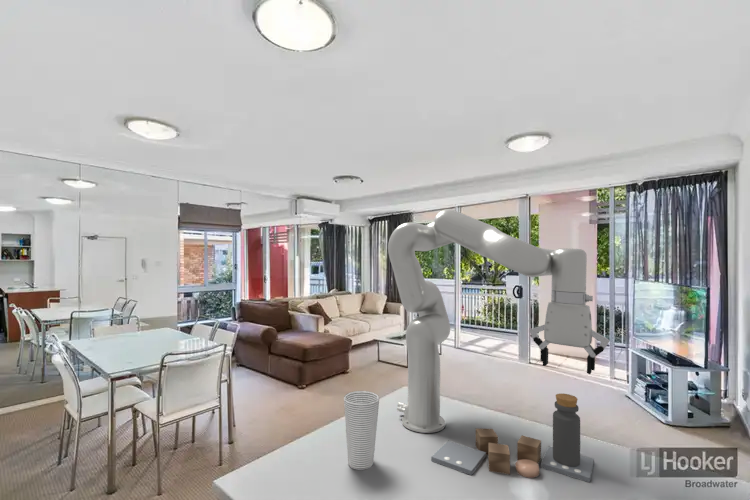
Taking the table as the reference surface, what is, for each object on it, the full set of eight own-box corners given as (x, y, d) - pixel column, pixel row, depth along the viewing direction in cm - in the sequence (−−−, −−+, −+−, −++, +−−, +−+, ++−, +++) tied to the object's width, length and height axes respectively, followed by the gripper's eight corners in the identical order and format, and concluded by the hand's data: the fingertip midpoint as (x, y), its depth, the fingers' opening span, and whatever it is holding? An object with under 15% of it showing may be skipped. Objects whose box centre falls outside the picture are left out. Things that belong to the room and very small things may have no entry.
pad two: (431, 460, 88) (431, 456, 88) (448, 444, 97) (448, 440, 97) (471, 475, 83) (471, 470, 83) (486, 456, 91) (486, 451, 91)
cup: (361, 450, 93) (362, 388, 93) (386, 463, 87) (386, 397, 87) (335, 462, 87) (336, 396, 87) (359, 478, 81) (360, 406, 81)
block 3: (517, 461, 89) (517, 442, 89) (521, 453, 93) (521, 435, 93) (537, 467, 87) (537, 447, 87) (541, 459, 90) (541, 440, 90)
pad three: (540, 467, 86) (540, 462, 86) (548, 449, 94) (548, 445, 95) (589, 482, 81) (589, 477, 81) (593, 462, 89) (593, 458, 89)
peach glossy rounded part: (525, 464, 88) (524, 457, 88) (544, 472, 83) (543, 465, 83) (511, 471, 85) (510, 463, 85) (530, 480, 81) (529, 472, 81)
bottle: (583, 468, 84) (584, 402, 85) (556, 465, 86) (556, 400, 86) (575, 455, 90) (575, 393, 91) (549, 452, 91) (550, 391, 92)
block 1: (480, 454, 92) (480, 436, 92) (475, 445, 96) (475, 428, 96) (498, 455, 92) (498, 436, 92) (492, 446, 96) (492, 428, 96)
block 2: (489, 471, 84) (489, 451, 85) (488, 461, 89) (488, 442, 89) (509, 474, 83) (509, 454, 83) (508, 464, 88) (508, 445, 88)
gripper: (610, 300, 88) (609, 372, 88) (534, 294, 98) (532, 358, 98) (608, 303, 82) (607, 380, 82) (527, 296, 92) (525, 365, 92)
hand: (566, 368), depth 90 cm, fingers open, 9 cm apart
